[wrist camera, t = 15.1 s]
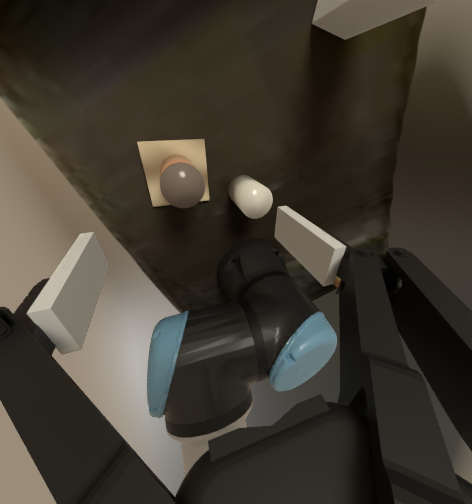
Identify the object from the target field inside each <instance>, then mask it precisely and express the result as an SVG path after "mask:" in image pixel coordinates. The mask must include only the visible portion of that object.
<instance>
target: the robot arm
mask: <svg viewBox="0 0 472 504" xmlns="http://www.w3.org/2000/svg"><path fill="white" fill-rule="evenodd" d="M275 238H276V239H277V240H278V241H279V242H280V243H281V244H282V245H283V246H284V247H285V248H286V249H287V250H288V251H289V252H290V253H291V254H292V255H293V256H294V257H295V258H296V259H297V260H298V261H299V262H300V263H301V264H302V265H303V266H304V267H305V268H306V269H307V270H308V271H309V272H310V273H311V274H312V275H313V276H314V277H315V278H316V279H317V280H318V281H319V282H320V283H321V284H322V285H323V286H327V285H331V284H334V282H335V279H336V276H337V277H338V278H339V279H341V281H340V284H339V286H338V289H337V292H336V294H338V293H339V308H340V309H339V311H340V312H339V316H340V394H339V399H338V403H334V402H325V400H324V398H323V397H322V395H321V394H320V395H317V396H315V397H313V398H310V399H308V400H305V401H303V402H301V403H298V404H296V405H295V406H294V407H293V408H291V409H290V410H289V411H288V412H287V413H286V414H285V415H284V416H283V417H282V418H280V419H279V420H278V421H277V422H276V423H275V424H274V425H271V426H262V427H248V428H247V426H246V421H245V419H246V417H247V415H248V414H249V412H250V410H251V408H252V405H253V399H252V395H251V389H250V385H251V384H254V383H256V382H259V381H262V380H265V379H268V381H269V383H270V385H271V386H272V387H273V388H274V389H275V390H277V391H282V390H283V391H287V390H290V389H293V388H295V387H297V386H298V385H300V384H302V383H304V382H305V381H306V380H308V379H309V378H311V377H312V376H313V375H314V374H315V373H317V372H318V371H319V370H320V369H321V368H322V367H323V366H324V365H325V364H326V363H327V361H328V360H329V359H330V358H331V356H332V354H333V353H334V351H335V348H336V345H337V336H336V333H335V331H334V330H333V328H332V327H331V326H330V324H329V323H328V322H327V320H326V319H325V317H324V314H323V313H321V312H320V311H319V309H317V307H316V306H315V305H314V304H313V303H312V301H311V300H310V299H309V298H308V297H307V296H306V294H305V293H304V292H303V291H302V290H301V289H300V287H299V286H298V285H297V284H296V283H295V282H294V280H293V279H292V278H291V277H290V276H289V273H288V270H287V267H286V264H285V260H284V257H283V255H282V254H281V252H280V251H279V250H278V249H277V248H276V246H275V245H273V244H272V243H270V242H268V241H266V240H260V239H255V240H249V241H245V242H243V243H240V244H238V245H236V246H235V247H233V248H232V249H231V250H230V251H229V252H228V253H227V254H226V255H225V256H224V257H223V259H222V260H221V262H220V264H219V267H218V280H219V283H220V286H221V288H222V290H223V291H224V293H225V294H226V295H227V296H228V297H229V298H230V299H231V300H232V301H233V302H229V303H225V304H220V305H215V306H211V307H206V308H202V309H197V310H192V311H185V312H184V313H181V314H177V315H174V316H170V317H166V318H164V319H162V320H160V321H159V322H158V323H157V325H156V326H155V329H154V331H153V334H152V338H151V343H150V351H149V359H148V374H147V399H148V405H149V412H150V415H151V416H152V417H158V418H160V417H162V416H163V415H165V421H166V429H167V433H168V435H169V436H170V437H171V438H173V439H175V440H177V441H179V442H181V445H182V453H183V461H184V468H185V478H184V480H183V482H182V484H181V486H180V488H179V490H178V492H177V494H176V497H174V496H173V494H172V493H171V492H170V491H169V490H168V489H167V488H166V486H165V485H164V484H163V483H162V482H161V481H160V480H159V478H158V477H157V476H156V475H155V474H154V473H153V472H152V471H151V470H150V468H149V467H148V466H147V465H146V464H145V463H144V461H143V460H142V459H141V458H140V457H139V456H138V455H137V453H136V452H135V451H134V450H133V449H132V448H131V447H130V445H129V444H128V443H127V442H126V441H125V440H124V438H123V437H122V436H121V435H120V434H119V433H118V432H117V430H116V429H115V428H114V427H113V426H112V425H111V423H110V422H109V421H108V420H107V419H106V418H105V417H104V416H103V414H102V413H101V412H100V411H99V410H98V409H97V407H96V406H95V405H94V404H93V403H92V402H91V401H90V399H89V398H88V397H87V396H86V395H85V394H84V392H83V391H82V390H81V389H80V388H79V387H78V386H77V384H76V383H75V382H74V381H73V380H72V379H71V377H70V376H69V375H68V374H67V373H66V372H65V371H64V369H63V368H62V367H61V366H60V365H59V364H58V363H57V361H56V360H55V359H54V358H53V357H52V353H53V351H54V349H55V347H56V348H57V349H58V351H59V352H60V353H61V354H66V353H70V352H73V351H77V350H81V349H82V346H83V343H84V339H85V337H86V333H87V331H88V328H89V325H90V322H91V319H92V316H93V313H94V310H95V307H96V304H97V301H98V298H99V295H100V292H101V289H102V286H103V283H104V280H105V277H106V274H107V271H108V268H109V265H108V263H107V260H106V258H105V256H104V254H103V251H102V249H101V247H100V245H99V243H98V240H97V238H96V236H95V233H94V232H90V233H82V234H80V235H79V236H78V238H77V240H76V241H75V242H74V244H73V245H72V247H71V248H70V250H69V251H68V253H67V254H66V256H65V257H64V259H63V260H62V262H61V263H60V264H59V266H58V267H57V269H56V270H55V272H54V273H53V275H52V276H51V278H48V279H43V280H42V281H41V282H39V283H38V284H37V285H35V286H34V287H33V288H32V290H31V291H30V292H29V294H28V296H26V298H25V299H24V300H23V303H21V305H20V306H19V307H18V308H17V310H16V311H15V313H14V314H13V313H11V311H10V310H9V309H8V308H6V307H0V400H1V402H2V404H3V406H4V407H5V409H6V411H7V413H8V415H9V417H10V419H11V420H12V422H13V424H14V426H15V428H16V429H17V431H18V433H19V435H20V437H21V439H22V441H23V442H24V444H25V446H26V448H27V450H28V452H29V454H30V455H31V457H32V459H33V461H34V463H35V465H36V466H37V468H38V470H39V472H40V474H41V475H42V477H43V479H44V481H45V483H46V485H47V487H48V488H49V490H50V492H51V494H52V496H53V497H54V499H55V501H56V503H57V504H472V484H471V483H469V482H468V481H466V480H465V479H463V478H461V477H460V476H458V475H457V474H455V473H454V469H453V467H452V463H451V460H450V457H449V454H448V451H447V448H446V445H445V442H444V439H443V436H442V433H441V430H440V427H439V424H438V421H437V418H436V415H435V412H434V409H433V406H432V403H431V400H430V397H429V394H428V391H427V387H426V384H425V381H424V379H423V377H422V375H421V374H420V373H419V372H418V371H416V370H413V369H410V368H409V366H408V364H407V360H406V357H405V353H404V350H403V346H402V343H401V340H400V336H399V333H400V335H401V336H402V338H403V340H404V341H405V343H406V344H407V347H408V348H409V350H410V352H411V353H412V355H413V357H414V359H415V360H416V362H417V364H418V365H419V367H420V369H421V371H422V372H423V374H424V376H425V377H426V379H427V381H428V382H429V384H430V386H431V388H432V389H433V391H434V392H435V395H436V396H437V398H438V400H439V401H440V403H441V405H442V407H443V408H444V410H445V412H446V413H447V415H448V417H449V418H450V420H451V422H452V423H453V424H454V426H455V428H456V429H457V431H458V432H459V434H460V435H461V437H462V438H463V440H464V441H465V443H466V444H467V445H468V447H469V448H470V450H471V451H472V311H471V310H470V309H469V308H468V307H467V306H466V305H465V304H464V303H463V302H462V301H461V300H460V299H459V298H458V297H457V296H456V295H455V294H454V293H453V292H452V291H451V290H450V289H449V288H448V287H447V286H446V285H445V284H444V283H443V282H442V281H440V280H439V279H438V278H437V277H436V276H435V275H434V274H433V273H432V272H431V271H430V270H429V269H428V268H427V267H426V266H425V265H424V264H423V263H422V262H421V261H420V260H419V259H418V258H417V257H416V256H415V255H414V254H413V253H411V252H409V251H407V250H406V249H402V248H389V249H388V251H387V253H386V255H376V254H375V253H374V252H373V251H371V250H369V249H366V248H360V247H357V248H352V247H351V246H349V245H348V244H346V243H345V242H343V241H342V240H340V239H339V238H337V237H336V236H334V235H333V234H331V233H330V232H327V231H325V230H322V229H320V228H318V227H317V226H315V225H314V224H312V223H311V222H309V221H308V220H306V219H305V218H304V217H302V216H301V215H299V214H298V213H296V212H295V211H293V210H292V209H290V208H289V207H287V206H281V207H278V209H277V218H276V228H275ZM401 282H402V287H401V286H400V284H401ZM398 331H399V332H398Z"/></svg>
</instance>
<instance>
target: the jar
mask: <svg viewBox="0 0 472 504" xmlns="http://www.w3.org/2000/svg"><path fill="white" fill-rule="evenodd" d="M160 176H161V178H160V189H161V193H162V195H163V197H164V198H165V199H166V201H167V202H169V203H170V204H171V205H173V206H175V207H179V208H189V207H192V206H194V205H196V204H197V203H198V202H200V200H201V199H202V197H203V195H204V192H205V182H204V179H203V176H202V175H201V173H200V172H199V171H198V170H197V169H196V168H195V167H194V165H193V164H192V163H191V161H190V160H189V159H188V158H186V157H185V156H182V155H179V154H173V155H170V156H168V157H166V158H165V159H164V160H163V162H162V164H161V167H160Z"/></svg>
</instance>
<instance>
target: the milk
mask: <svg viewBox="0 0 472 504" xmlns="http://www.w3.org/2000/svg"><path fill="white" fill-rule="evenodd" d="M438 1H440V0H318V1H317V5H316V9H315V13H314V17H313V21H312V24H313V25H315V26H317V27H320V28H322V29H324V30H326V31H328V32H330V33H332V34H334V35H336V36H338V37H340V38H342V39H344V40H346V39H349V38H351V37H353V36H356V35H358V34H361V33H363V32H365V31H368V30H370V29H373V28H375V27H377V26H380V25H382V24H385V23H387V22H389V21H392V20H394V19H397V18H399V17H402V16H404V15H406V14H409V13H411V12H414V11H416V10H418V9H421V8H423V7H426V6H428V5H430V4H433V3H435V2H438Z"/></svg>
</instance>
